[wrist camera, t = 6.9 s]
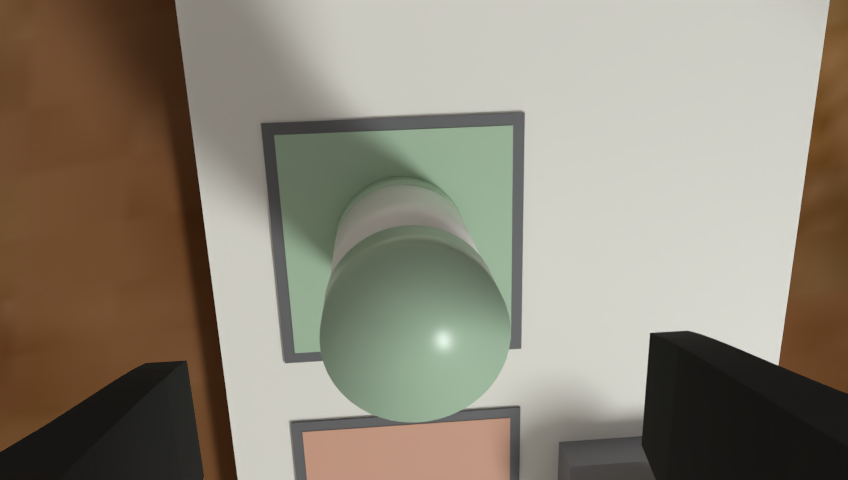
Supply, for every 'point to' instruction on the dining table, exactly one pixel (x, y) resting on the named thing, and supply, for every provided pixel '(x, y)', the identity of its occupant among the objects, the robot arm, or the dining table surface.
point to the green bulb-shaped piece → (410, 306)
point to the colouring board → (499, 206)
